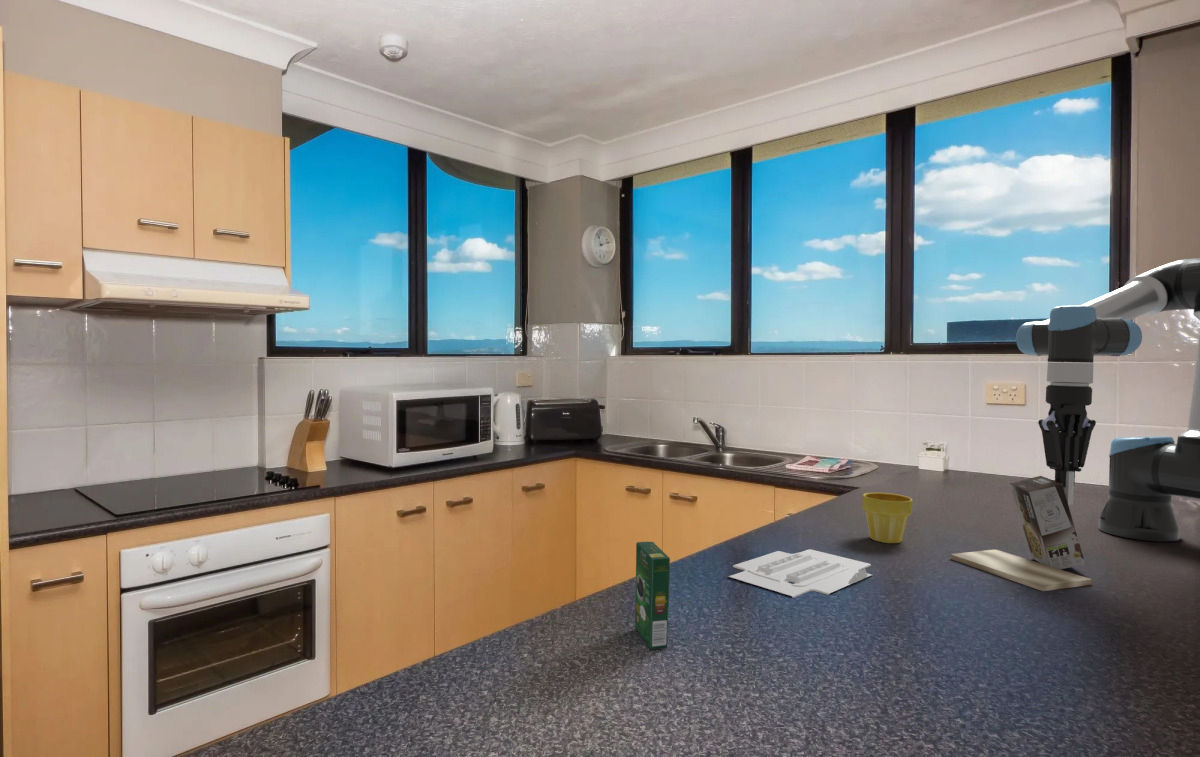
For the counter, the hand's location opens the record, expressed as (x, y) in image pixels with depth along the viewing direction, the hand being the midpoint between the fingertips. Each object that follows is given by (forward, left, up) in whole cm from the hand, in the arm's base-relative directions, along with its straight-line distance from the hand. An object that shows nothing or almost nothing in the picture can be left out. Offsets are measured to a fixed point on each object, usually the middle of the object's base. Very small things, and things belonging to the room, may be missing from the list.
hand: (1063, 503), depth 135 cm
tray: (+53, -12, -13) cm, 55 cm away
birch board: (+12, 0, -12) cm, 17 cm away
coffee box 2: (+1, 0, -12) cm, 12 cm away
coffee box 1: (+92, +8, -13) cm, 93 cm away
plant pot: (+20, -26, -13) cm, 35 cm away
